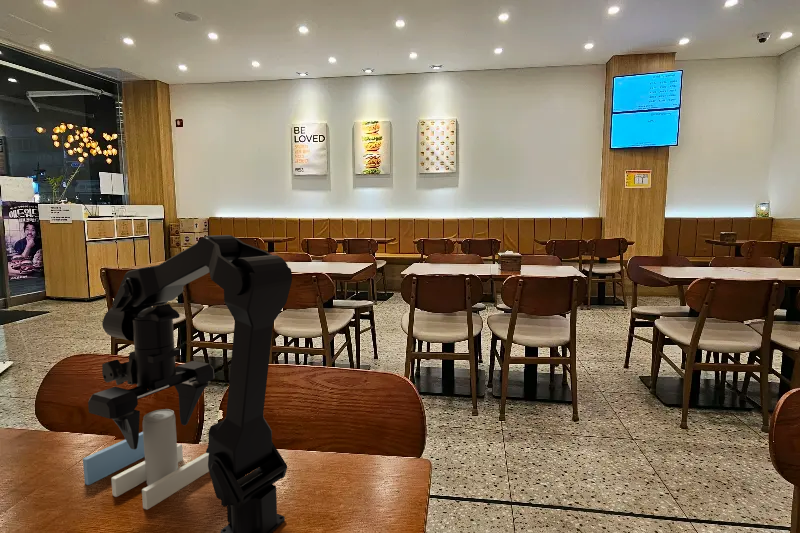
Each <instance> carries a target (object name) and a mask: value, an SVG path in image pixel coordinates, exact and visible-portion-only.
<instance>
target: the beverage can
mask: <svg viewBox="0 0 800 533" xmlns="http://www.w3.org/2000/svg"><path fill="white" fill-rule="evenodd" d="M142 419H143V420H142V432H143V439H144V454H145V457H144V461H145V466H146V479H147V480H146V485H147V486H149V485H151V484H153V483H154V482H156V481H158V480H160V479H161V478H163V477H165V476H167V475H168V474H170V473H172V472H174V471H175V470H177V469H179V462H178V456H177V444H178V443H177V426H176V414H175V411H174V410H172V409H169V408H165V409H164V408H163V409H156V410H153V411H150V412H148V413H146V414H144V416H142Z"/></svg>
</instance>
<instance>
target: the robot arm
mask: <svg viewBox="0 0 800 533" xmlns="http://www.w3.org/2000/svg"><path fill="white" fill-rule="evenodd" d="M207 274H209V275H210V276H209V277H210V279H211V281H212V282H213V283H215V284H216V286H219V287H220V288H222V289H223V300H224V301H223V302H224V304H225V306H226V307H227V309H228V311H229V312H230V314H231V315H232V318H233V319H234V329H233V337H232V339H233V340H232V348H231V349H232V351H231V359H230V370H229V379H228V380H229V381H228V383H229V384H228V391H227V392H228V393H227V403H226V404H227V405H226V415H225V418H224V419H223V420H222V421H219V422H217V423H214V424H213V425H210V427H209V429H208V434H207V435H208V444H207V448H206V450H205V453H209V457H208V469H209V472H208V473H209V475H210V479H211V483H212V487H213V490H214V494H215V497H216V499H219V500H220V502H221V504H220V505H221V506H222V507H226V514H227V523H228V524H227V525H225V526H224V527H223V528H222V529H220V533H273V532H274V531H276V529H277V528H278V527H279V526H281V525H282V524H283V523H284V522H285V519H286V518H285V517H286V516H284V515H282V514H279V513H278V505H277V504H278V503H277V502H278V501H277V500H278V499H277V497H278V496H277V486H276V485H274V484H275V483H277V482H278V481H280V480H282V479H284V478H285V477H286V475H287V470H288V465H287V462H285V460H284V458H283V457H282V455H281V453H280V452H279V450H278V449H277V447H276V446H275V444H274V442H273V430H272V429H271V427H270V425H269V423H268V421H267V420H266V419H265V417H264V412H265V411H264V410H265V402H266V394H267V393H266V391H267V385H268V383H267V382H268V372H269V365H270V364H269V363H270V356H271V348H272V347H271V346H272V337H273V327H274V323H275V321H276V319H277V317H278V316H279V315H280V313H281V311H282V310H283V309H284V307H285V306H286V304H287V302H288V298H289V293H290V291H291V286H292V282H293V272H292V269H291V268H290V267H289V266H288V263H287V262H286V261H285V259H284V258H282V257H281V256H279V255H274V254H272V253H270V252H268V251H267V250H265V249H262V248H259V247H256V246H253V245H251V244H247V243H245V242H244V241H242V240H241V239H239V238H238V237H236V236H233V235H230V234H223V235H220V234H219V235H217V234H216V235H214V234H213V235H205V236H204V237H201V238H199V240H197V242H196V243H194V244H193V245H191V246H189V247H187V248H186V249H184V250H182V251H180V252H179V253H177V254H175V255H173V256H171V257H170V258H168V259H167V260H165V261H163V262H161V263H159V264H157V265H150V266H147V267H145V266H144V267H140V268H135V269H131V270H128V271H127V272H126V273H125V274H124V275H123V279H122V280H121V283H120V285H119V286H118V287H119V288H118V290H117V293H116V295H115V297H114V298H113V300H112V307H111V308H110V309H108V311H106V313H105V314H104V316H103V319H102V321H101V324H102V329H103V331H104V332H105V333H106V334H107V335H108V336H110V337H112V338H113V337H114V338H118V339H122V340H125V341H130V342H133V346H134V348H133V349H134V350H133V351H130V352H129V354H128V361H126V362H122V363H121V362H120V360H119V359H113V360H110V361H106V362H104V363H102V367H101V368H102V369H101V371H102V372H101V374H102V377H103V380H104V382H105V383H111V382H116V386H113V387H110V388H107V389H104V390H101V391H98V392H95V393H93V394H92V395H91V396H90V397H89V399H88V401H87V406H88V413H89V414H92V415H95V416H97V417H98V416H99V417H103V418H105V419H108V420H111V419H112V421H113V422H114V423H115V424H116V425H117V427H118V428H119V430H120V431H121V434H122V435H123V437H124V440H125V439H126V441H127V443H128V445H129V446H130V448H131V449H134V450H135V449H137V446H138V440H139V433H140V416H141V415H140V414H141V412H140V410H137V409H136V408H137V406H139V404H138V403H139V400H141V399H143V398H145V397H148V396H150V395H154V394H156V393H159V392H162V391H163V390H166V389H167V390H168V389H169V388H172V387H174V388H175V389H176V391H177V393H178V394H177V395H178V405H179V406H178V407H179V418H180V424H181V425H183V426H186V425H188V424H189V422H190V419H191V416H193V415H192V414H193V412H194V410H195V407H196V406H197V404H198V402H199V400H200V397H201V396H202V394H203V392H204V390H205V389H206V388H207V387H208V386H209V384H210V381H213V380H215V370H214V369H215V368H214V367H213V366H212V365H211V363H208V362H207V363H206V362H200V361H195V360H192V361H188V362H184V363H182V364H179V365H176V357H177V356H180V355H181V349H180V348H178V347H177V348H176V347H175V334H174V320H175V319H179V318H180V316H181V315H180V313H179V312H178V311H177V310H176V309H174V308H173V307H172V305H171V304H170V303H169V302H171V301H174V300H175V299H176V298H178V296H180V295H181V294H182V293H183V292H184V286H186V285H187V284H189V283H191V282H193V281H195V280H197V279H199V278H201V277H203V276H205V275H207ZM125 382H126V383H127V385H131V386H133V385H136V386H135V387H132V388H129V389H126V388H122V387H118V386H119V385H122V384H125Z"/></svg>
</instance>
